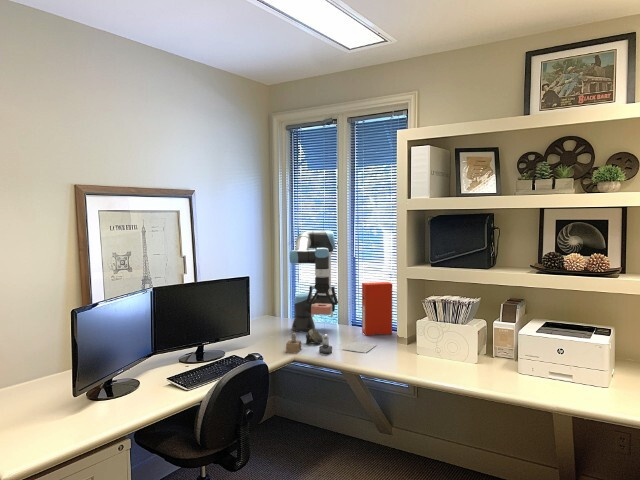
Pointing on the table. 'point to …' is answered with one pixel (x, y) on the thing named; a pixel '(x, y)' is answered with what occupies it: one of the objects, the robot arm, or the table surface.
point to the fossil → (314, 337)
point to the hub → (325, 346)
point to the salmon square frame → (321, 309)
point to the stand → (293, 345)
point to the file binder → (377, 308)
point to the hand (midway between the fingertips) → (322, 316)
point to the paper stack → (359, 347)
